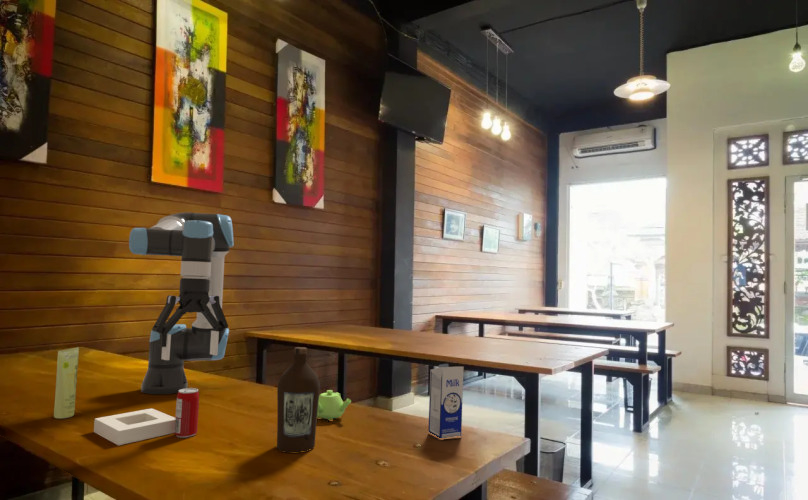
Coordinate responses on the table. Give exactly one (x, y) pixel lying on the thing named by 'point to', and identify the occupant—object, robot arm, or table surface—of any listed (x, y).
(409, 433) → the table surface
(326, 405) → the teapot
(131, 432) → the socket block
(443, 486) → the table surface
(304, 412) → the olive oil
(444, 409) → the milk carton
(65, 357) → the tube
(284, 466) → the table surface
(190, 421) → the soda can
